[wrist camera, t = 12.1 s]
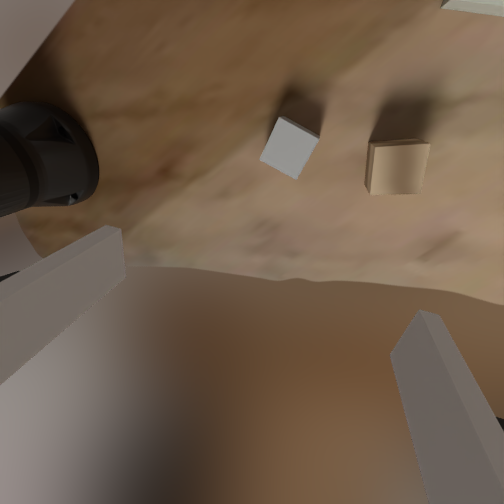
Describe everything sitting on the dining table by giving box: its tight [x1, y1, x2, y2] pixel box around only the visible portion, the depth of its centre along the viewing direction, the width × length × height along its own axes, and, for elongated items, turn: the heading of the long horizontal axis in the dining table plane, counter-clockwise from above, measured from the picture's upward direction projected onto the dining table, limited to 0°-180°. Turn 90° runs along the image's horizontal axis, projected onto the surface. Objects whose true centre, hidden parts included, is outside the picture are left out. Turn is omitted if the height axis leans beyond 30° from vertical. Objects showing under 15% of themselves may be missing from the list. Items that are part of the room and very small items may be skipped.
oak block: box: [364, 138, 431, 195], centre depth 30 cm, size 5×5×5 cm
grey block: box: [259, 116, 320, 180], centre depth 32 cm, size 5×5×4 cm
